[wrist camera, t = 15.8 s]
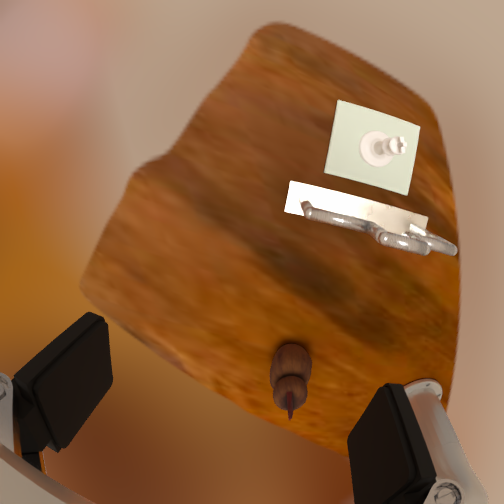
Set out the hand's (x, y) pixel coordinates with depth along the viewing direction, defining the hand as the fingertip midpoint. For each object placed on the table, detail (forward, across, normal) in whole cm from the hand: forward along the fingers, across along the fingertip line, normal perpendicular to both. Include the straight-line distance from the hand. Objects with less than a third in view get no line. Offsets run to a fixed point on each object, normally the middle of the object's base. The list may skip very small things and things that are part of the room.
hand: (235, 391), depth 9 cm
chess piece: (+31, -11, -12) cm, 35 cm away
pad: (+32, -11, -13) cm, 36 cm away
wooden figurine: (+32, -7, +20) cm, 39 cm away
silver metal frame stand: (+32, -11, -4) cm, 34 cm away
